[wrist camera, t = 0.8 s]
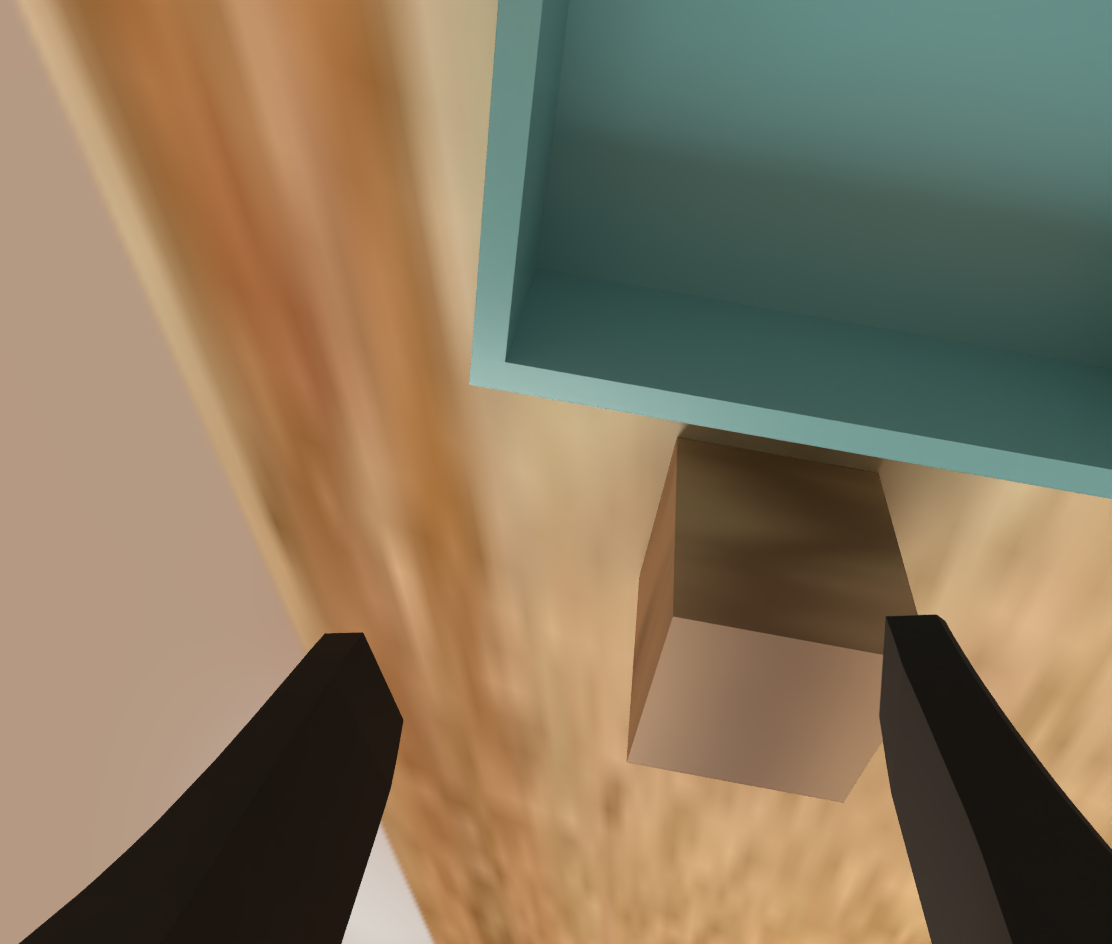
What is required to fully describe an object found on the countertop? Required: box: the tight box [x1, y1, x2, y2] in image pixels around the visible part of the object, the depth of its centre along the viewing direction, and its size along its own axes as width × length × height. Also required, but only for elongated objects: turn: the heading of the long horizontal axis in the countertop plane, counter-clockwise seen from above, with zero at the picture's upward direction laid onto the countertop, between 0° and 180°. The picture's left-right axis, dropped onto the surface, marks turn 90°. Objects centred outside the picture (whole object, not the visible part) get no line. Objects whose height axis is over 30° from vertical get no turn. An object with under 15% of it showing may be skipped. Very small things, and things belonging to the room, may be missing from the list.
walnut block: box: [627, 437, 918, 803], centre depth 20 cm, size 5×5×6 cm
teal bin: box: [469, 0, 1112, 499], centre depth 13 cm, size 14×12×4 cm
